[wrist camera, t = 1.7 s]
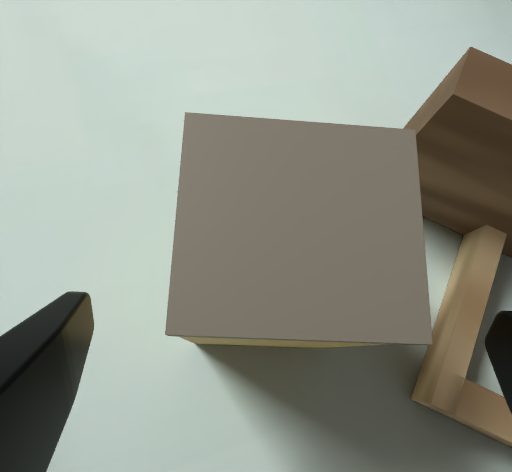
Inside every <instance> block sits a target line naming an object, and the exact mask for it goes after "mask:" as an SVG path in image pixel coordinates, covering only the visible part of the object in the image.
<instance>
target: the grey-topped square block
mask: <svg viewBox="0 0 512 472" xmlns="http://www.w3.org/2000/svg"><path fill="white" fill-rule="evenodd" d="M165 335H168V336H178V337H181V338H183V339H185V340H188V341H190V342H192V343H195V344H221V345H250V346H278V347H306V348H329V347H348V346H366V345H384V344H401V345H432V344H433V342H432V329H431V317H430V305H429V292H428V280H427V268H426V255H425V243H424V231H423V218H422V206H421V194H420V181H419V169H418V157H417V144H416V132H415V130H411V129H398V128H384V127H371V126H358V125H345V124H332V123H319V122H305V121H292V120H279V119H266V118H253V117H240V116H226V115H213V114H200V113H187V112H185V120H184V131H183V142H182V153H181V164H180V176H179V187H178V198H177V209H176V220H175V231H174V242H173V254H172V265H171V276H170V287H169V298H168V309H167V320H166V331H165Z"/></svg>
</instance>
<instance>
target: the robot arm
mask: <svg viewBox="0 0 512 472" xmlns="http://www.w3.org/2000/svg"><path fill="white" fill-rule="evenodd" d="M93 330H94V319H93V312H92V305H91V299H90V296H89V294H88V293H87V292H73V291H71V292H67V293H65V294H63V295H62V296H60V297H59V298H57V299H56V300H54V301H53V302H51V303H50V304H48V305H47V306H45V307H44V308H42V309H41V310H39V311H38V312H36V313H35V314H33V315H32V316H30V317H29V318H27V319H26V320H24V321H23V322H21V323H20V324H18V325H17V326H15V327H14V328H12V329H11V330H9V331H8V332H6V333H5V334H3V335H2V336H0V472H46V471H47V468H48V466H49V463H50V461H51V458H52V456H53V453H54V451H55V448H56V446H57V443H58V441H59V438H60V436H61V433H62V431H63V428H64V426H65V423H66V421H67V418H68V416H69V413H70V411H71V408H72V406H73V403H74V400H75V397H76V394H77V390H78V387H79V383H80V379H81V376H82V372H83V368H84V365H85V361H86V357H87V353H88V350H89V346H90V342H91V339H92V335H93ZM485 347H486V351H487V353H488V356H489V358H490V361H491V364H492V366H493V369H494V371H495V374H496V377H497V379H498V382H499V385H500V387H501V390H502V392H503V395H504V398H505V400H506V403H507V405H508V407H509V410H510V412H511V414H512V311H500V312H499V313H498V314H497V315H496V316H495V319H494V321H493V323H492V325H491V327H490V329H489V331H488V333H487V335H486V338H485Z"/></svg>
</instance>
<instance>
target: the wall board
mask: <svg viewBox="0 0 512 472" xmlns="http://www.w3.org/2000/svg"><path fill="white" fill-rule="evenodd" d="M403 129H411V130H415V132H416V144H417V157H418V169H419V181H420V194H421V206H422V216H423V217H425V218H427V219H429V220H431V221H434V222H436V223H438V224H440V225H442V226H444V227H447V228H449V229H451V230H453V231H455V232H457V233H460V234H462V235H464V236H463V239H462V242H461V245H460V248H459V251H458V255H457V258H456V261H455V264H454V267H453V270H452V273H451V276H450V279H449V282H448V285H447V289H446V292H445V295H444V298H443V301H442V304H441V307H440V310H439V313H438V316H437V320H436V323H435V326H434V329H433V332H432V342H433V344H432V345H428V347H427V350H426V354H425V357H424V360H423V363H422V366H421V369H420V372H419V375H418V378H417V381H416V384H415V388H414V391H413V394H412V397H411V399H412V400H414V401H416V402H418V403H420V404H422V405H424V406H426V407H428V408H430V409H432V410H434V411H437V412H439V413H441V414H443V415H445V416H447V417H449V418H451V419H453V420H455V421H457V422H459V423H462V424H464V425H466V426H468V427H470V428H472V429H474V430H476V431H478V432H480V433H482V434H484V435H486V436H489V437H491V438H493V439H495V440H497V441H499V442H501V443H503V444H505V445H507V446H509V447H511V448H512V414H511V412H510V410H509V407H508V405H507V403H506V400H505V398H504V397H503V396H501V395H499V394H497V393H494V392H492V391H490V390H488V389H486V388H484V387H482V386H480V385H478V384H476V383H473V382H471V381H469V380H467V379H465V377H466V374H467V370H468V367H469V363H470V360H471V356H472V353H473V349H474V346H475V343H476V339H477V336H478V332H479V329H480V325H481V322H482V318H483V315H484V311H485V308H486V305H487V301H488V298H489V294H490V291H491V287H492V284H493V280H494V277H495V273H496V270H497V267H498V263H499V260H500V256H501V253H503V254H505V255H507V256H509V257H512V65H511V64H509V63H507V62H504V61H502V60H500V59H498V58H495V57H493V56H491V55H489V54H486V53H484V52H482V51H480V50H477V49H475V48H473V47H470V48H469V49H468V50H467V52H466V53H465V54H464V55H463V56H462V58H461V59H460V60H459V61H458V63H457V64H456V65H455V66H454V67H453V69H452V70H451V71H450V72H449V74H448V75H447V76H446V77H445V78H444V80H443V81H442V82H441V83H440V84H439V86H438V87H437V88H436V89H435V91H434V92H433V93H432V94H431V95H430V97H429V98H428V99H427V100H426V101H425V103H424V104H423V105H422V106H421V108H420V109H419V110H418V111H417V112H416V114H415V115H414V116H413V117H412V119H411V120H410V121H409V122H408V123H407V125H406V126H405V127H404V128H403Z"/></svg>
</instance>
